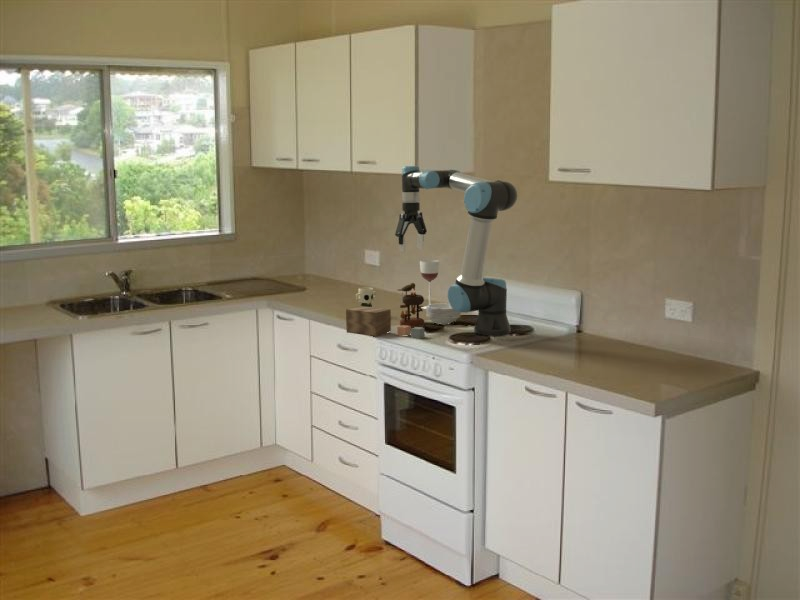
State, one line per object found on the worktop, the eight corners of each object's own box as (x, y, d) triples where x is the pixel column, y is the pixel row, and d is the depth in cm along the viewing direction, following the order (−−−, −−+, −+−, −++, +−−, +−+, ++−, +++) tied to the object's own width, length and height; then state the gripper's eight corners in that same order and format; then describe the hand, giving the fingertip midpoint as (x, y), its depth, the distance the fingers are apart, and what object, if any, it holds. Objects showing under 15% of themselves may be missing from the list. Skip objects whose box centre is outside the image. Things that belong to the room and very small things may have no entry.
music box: (411, 331, 390) (407, 284, 388) (392, 330, 398) (389, 284, 396) (435, 326, 401) (431, 280, 399) (417, 325, 408) (413, 280, 407)
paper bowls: (467, 322, 409) (467, 305, 408) (444, 327, 398) (444, 309, 397) (442, 318, 420) (442, 301, 418) (419, 323, 409) (419, 305, 408)
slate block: (424, 337, 378) (424, 327, 377) (419, 338, 375) (418, 329, 374) (416, 336, 380) (416, 326, 380) (411, 337, 377) (410, 328, 376)
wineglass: (428, 309, 444) (428, 262, 441) (416, 307, 452) (415, 260, 449) (443, 307, 449) (443, 261, 446) (430, 305, 457) (430, 259, 454)
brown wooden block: (390, 332, 388) (390, 309, 387) (376, 336, 380) (375, 312, 379) (361, 328, 398) (360, 306, 396) (346, 332, 390) (346, 309, 388)
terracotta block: (410, 335, 382) (410, 326, 381) (405, 337, 379) (405, 327, 378) (403, 334, 384) (402, 325, 384) (397, 336, 381) (397, 326, 380)
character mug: (360, 318, 423) (360, 290, 421) (352, 316, 429) (351, 288, 426) (380, 315, 429) (379, 288, 427) (371, 313, 435) (371, 286, 433)
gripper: (420, 200, 411) (420, 247, 414) (386, 203, 391) (387, 252, 394) (434, 200, 406) (434, 248, 410) (400, 203, 387) (401, 253, 390)
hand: (411, 250), depth 402 cm, fingers open, 13 cm apart
